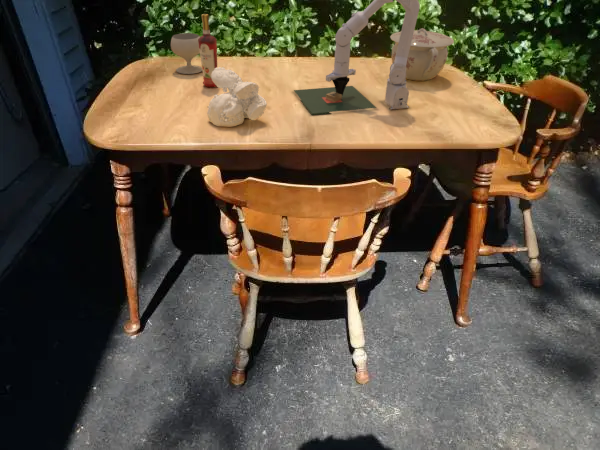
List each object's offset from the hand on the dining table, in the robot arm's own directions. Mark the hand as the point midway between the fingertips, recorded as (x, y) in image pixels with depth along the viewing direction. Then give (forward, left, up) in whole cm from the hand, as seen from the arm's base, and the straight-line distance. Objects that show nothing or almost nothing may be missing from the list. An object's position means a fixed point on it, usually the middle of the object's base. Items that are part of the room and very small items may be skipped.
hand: (339, 95), depth 189 cm
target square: (-2, +4, -2) cm, 4 cm away
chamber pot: (+20, -44, -2) cm, 49 cm away
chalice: (+50, +55, -2) cm, 74 cm away
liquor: (+27, +48, -2) cm, 55 cm away
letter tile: (-2, +3, -1) cm, 3 cm away
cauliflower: (-12, +43, -2) cm, 44 cm away
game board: (-1, +3, -2) cm, 3 cm away
